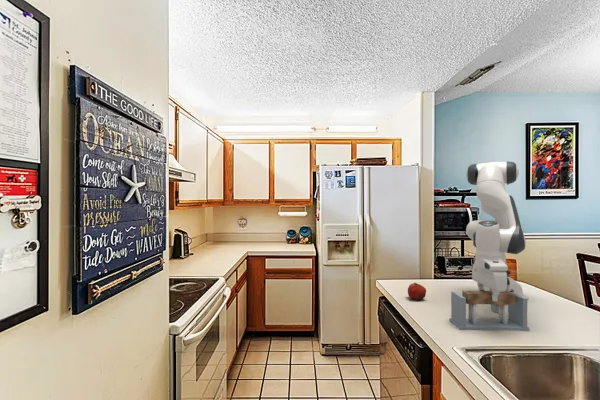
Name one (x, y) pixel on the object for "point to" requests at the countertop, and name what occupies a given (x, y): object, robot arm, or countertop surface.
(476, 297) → the shelf board
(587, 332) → the countertop surface
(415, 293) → the tomato
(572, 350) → the countertop surface
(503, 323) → the shelf stand
